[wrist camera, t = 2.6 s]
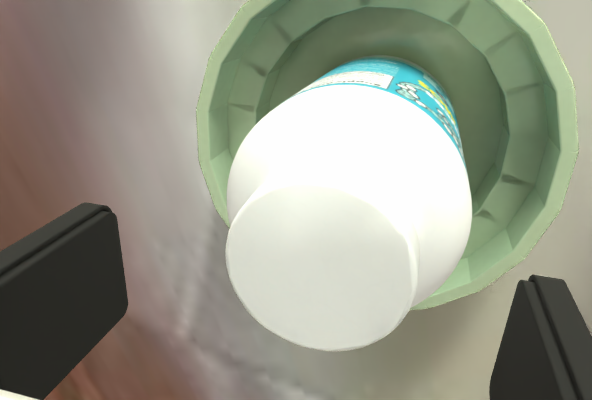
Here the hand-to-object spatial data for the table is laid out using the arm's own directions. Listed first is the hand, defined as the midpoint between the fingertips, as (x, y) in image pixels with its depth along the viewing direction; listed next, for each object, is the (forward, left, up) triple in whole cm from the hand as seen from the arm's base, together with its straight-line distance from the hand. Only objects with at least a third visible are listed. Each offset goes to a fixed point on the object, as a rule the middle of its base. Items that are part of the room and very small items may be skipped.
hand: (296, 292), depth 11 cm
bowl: (0, 0, -15) cm, 15 cm away
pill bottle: (0, 0, -14) cm, 14 cm away
